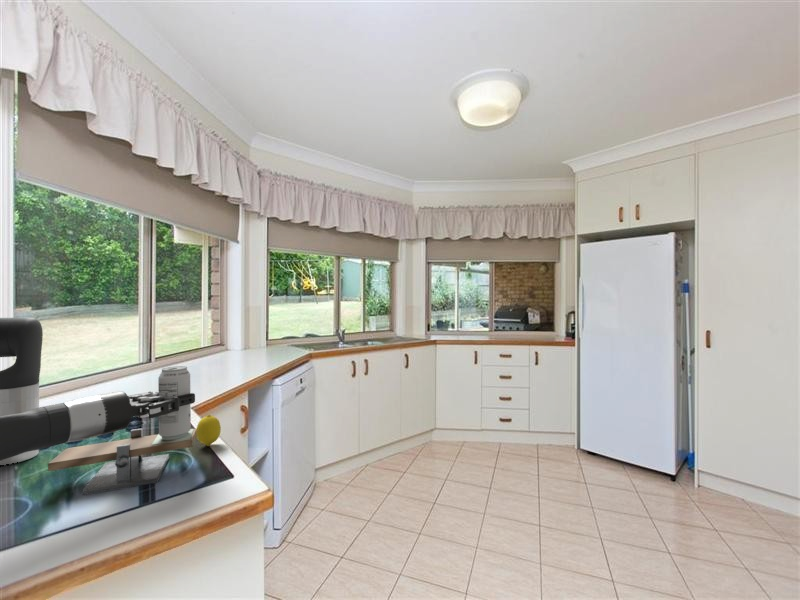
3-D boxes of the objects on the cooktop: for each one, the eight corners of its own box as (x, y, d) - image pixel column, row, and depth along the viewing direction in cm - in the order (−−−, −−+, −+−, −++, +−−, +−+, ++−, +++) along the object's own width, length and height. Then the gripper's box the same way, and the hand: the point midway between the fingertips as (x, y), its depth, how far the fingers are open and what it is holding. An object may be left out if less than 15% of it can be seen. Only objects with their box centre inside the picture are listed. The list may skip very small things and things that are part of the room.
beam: (48, 471, 70) (47, 462, 70) (66, 455, 77) (66, 447, 77) (192, 446, 79) (192, 438, 79) (196, 434, 86) (196, 427, 86)
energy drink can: (196, 433, 83) (196, 366, 83) (170, 442, 77) (170, 371, 77) (178, 429, 85) (178, 365, 85) (152, 438, 80) (152, 369, 80)
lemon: (224, 445, 94) (224, 414, 94) (201, 452, 90) (201, 419, 90) (215, 440, 98) (215, 410, 98) (192, 446, 93) (192, 415, 93)
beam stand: (82, 495, 70) (82, 452, 70) (105, 467, 82) (106, 431, 82) (157, 482, 74) (157, 443, 74) (168, 458, 86) (168, 424, 86)
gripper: (111, 400, 65) (203, 382, 80) (80, 391, 73) (169, 376, 87) (112, 443, 65) (204, 417, 80) (80, 429, 73) (169, 407, 87)
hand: (185, 395), depth 83 cm, fingers closed on energy drink can, 6 cm apart
